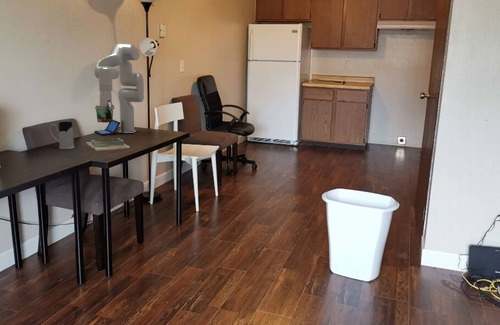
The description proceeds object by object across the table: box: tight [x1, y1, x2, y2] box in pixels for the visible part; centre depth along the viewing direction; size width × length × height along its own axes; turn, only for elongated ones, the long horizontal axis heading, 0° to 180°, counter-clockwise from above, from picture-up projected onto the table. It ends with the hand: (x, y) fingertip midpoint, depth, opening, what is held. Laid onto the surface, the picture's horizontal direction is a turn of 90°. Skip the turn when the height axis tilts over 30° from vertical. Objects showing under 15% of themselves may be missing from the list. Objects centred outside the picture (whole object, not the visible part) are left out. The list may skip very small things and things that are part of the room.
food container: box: [94, 104, 115, 124], centre depth 277 cm, size 12×6×10 cm, turn 142°
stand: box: [85, 137, 131, 152], centre depth 282 cm, size 22×20×4 cm
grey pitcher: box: [49, 121, 75, 150], centre depth 273 cm, size 9×14×15 cm, turn 86°
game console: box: [93, 119, 120, 137], centre depth 321 cm, size 16×14×9 cm
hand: (106, 118), depth 278 cm, fingers closed on food container, 5 cm apart
